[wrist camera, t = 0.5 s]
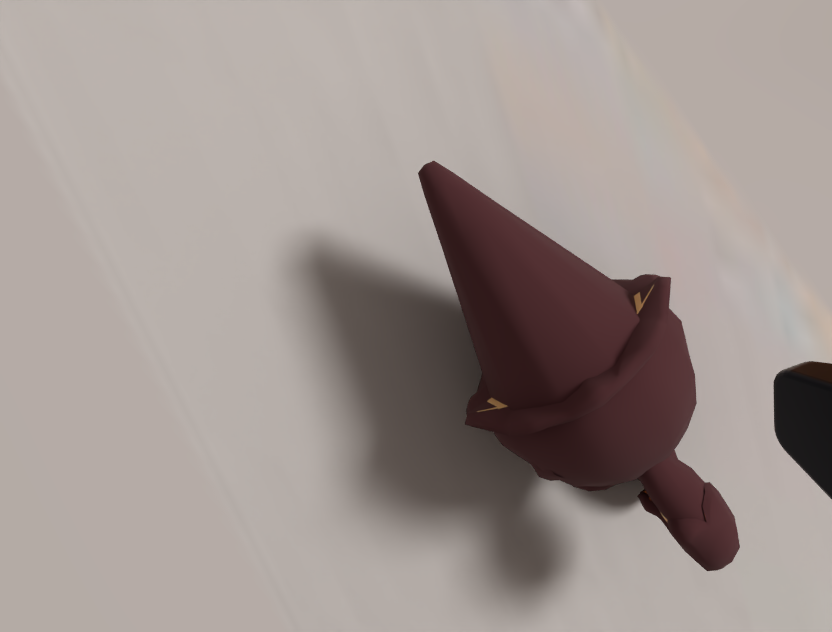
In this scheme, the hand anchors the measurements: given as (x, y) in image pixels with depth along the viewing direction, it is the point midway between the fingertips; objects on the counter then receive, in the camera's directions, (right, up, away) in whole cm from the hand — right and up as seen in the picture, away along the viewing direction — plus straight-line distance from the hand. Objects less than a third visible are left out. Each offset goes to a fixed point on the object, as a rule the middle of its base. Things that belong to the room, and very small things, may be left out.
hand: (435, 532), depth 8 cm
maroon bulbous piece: (+4, +1, +17) cm, 18 cm away
